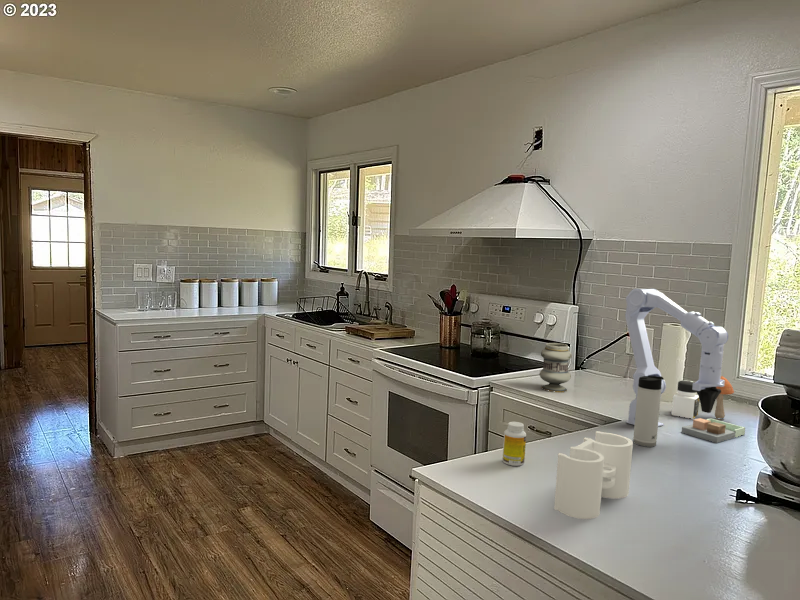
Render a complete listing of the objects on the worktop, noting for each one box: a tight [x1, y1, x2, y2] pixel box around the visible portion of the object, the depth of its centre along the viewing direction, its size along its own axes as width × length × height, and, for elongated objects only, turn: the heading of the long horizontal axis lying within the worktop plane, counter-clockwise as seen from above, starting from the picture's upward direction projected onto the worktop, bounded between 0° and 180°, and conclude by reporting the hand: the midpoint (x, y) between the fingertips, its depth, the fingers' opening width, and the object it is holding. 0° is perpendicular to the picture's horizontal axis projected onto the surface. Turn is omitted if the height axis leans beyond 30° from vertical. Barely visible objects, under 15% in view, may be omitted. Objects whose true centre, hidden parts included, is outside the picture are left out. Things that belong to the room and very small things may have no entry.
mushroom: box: [714, 375, 735, 419], centre depth 207 cm, size 8×8×15 cm
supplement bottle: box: [501, 421, 527, 467], centre depth 155 cm, size 6×6×10 cm
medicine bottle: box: [671, 379, 700, 420], centre depth 210 cm, size 7×7×12 cm
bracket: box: [553, 430, 634, 520], centre depth 135 cm, size 25×10×12 cm, turn 140°
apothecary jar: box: [539, 342, 573, 393], centre depth 239 cm, size 12×12×18 cm
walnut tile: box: [707, 422, 726, 434], centre depth 186 cm, size 4×4×2 cm
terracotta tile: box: [692, 417, 711, 430], centre depth 189 cm, size 4×4×2 cm
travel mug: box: [632, 375, 665, 448], centre depth 176 cm, size 6×7×20 cm
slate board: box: [681, 423, 736, 444], centre depth 188 cm, size 11×11×2 cm
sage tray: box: [705, 418, 746, 438], centre depth 193 cm, size 6×11×2 cm, turn 35°
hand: (706, 411), depth 181 cm, fingers closed
